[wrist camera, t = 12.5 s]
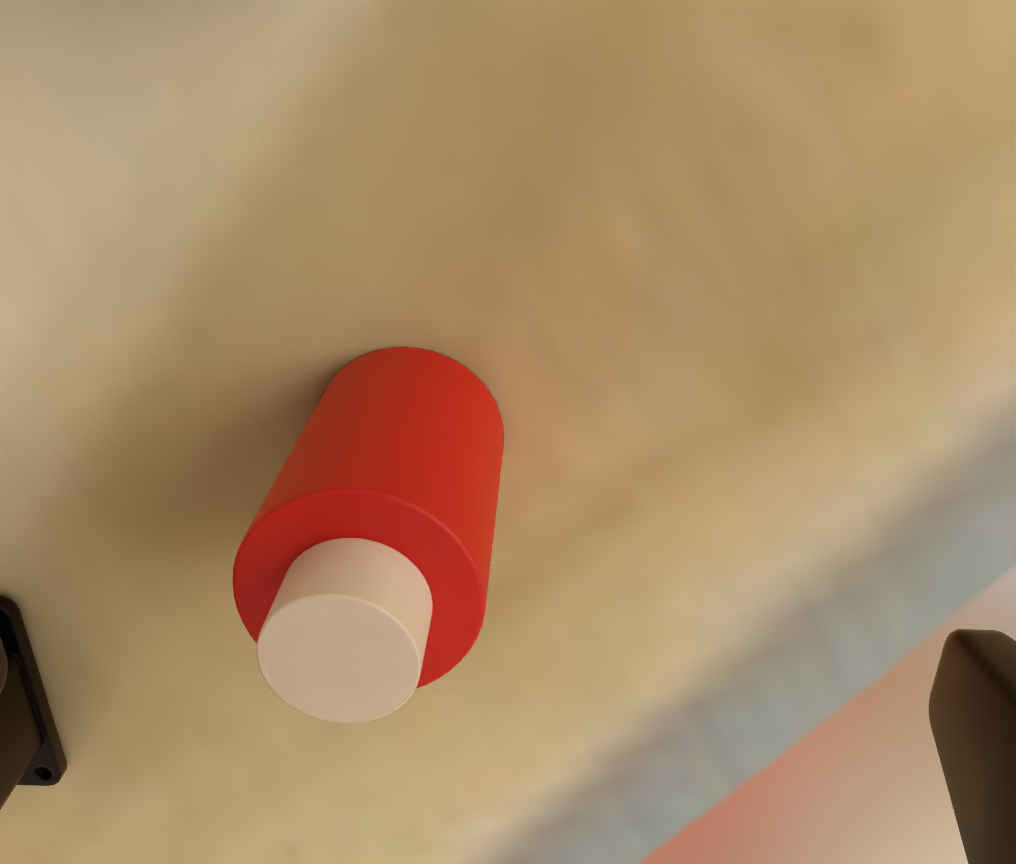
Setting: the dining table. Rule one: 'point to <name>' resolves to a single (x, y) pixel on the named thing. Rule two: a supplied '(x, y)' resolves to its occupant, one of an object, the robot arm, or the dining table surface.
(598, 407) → the dining table surface
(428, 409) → the ketchup bottle
